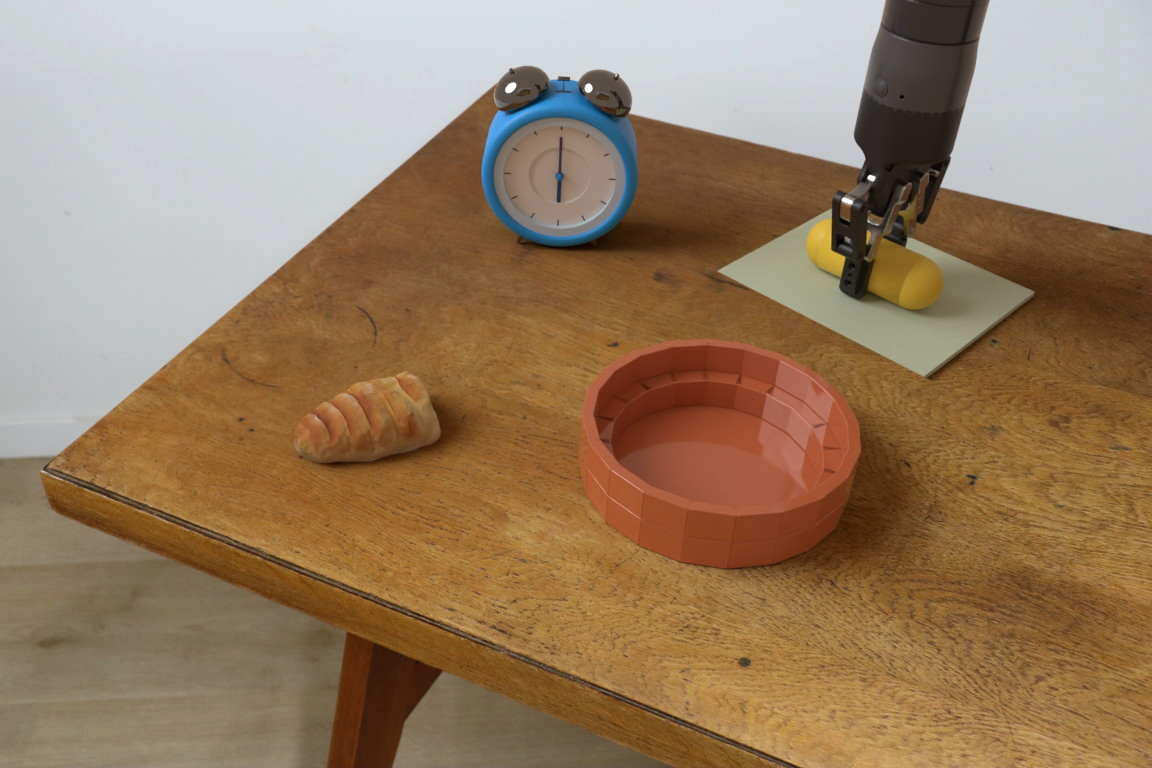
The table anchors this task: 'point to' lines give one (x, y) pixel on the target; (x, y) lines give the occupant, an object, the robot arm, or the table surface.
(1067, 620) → the table surface
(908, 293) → the yellow capsule
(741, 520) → the bowl
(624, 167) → the alarm clock
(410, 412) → the pastry
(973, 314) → the mat
